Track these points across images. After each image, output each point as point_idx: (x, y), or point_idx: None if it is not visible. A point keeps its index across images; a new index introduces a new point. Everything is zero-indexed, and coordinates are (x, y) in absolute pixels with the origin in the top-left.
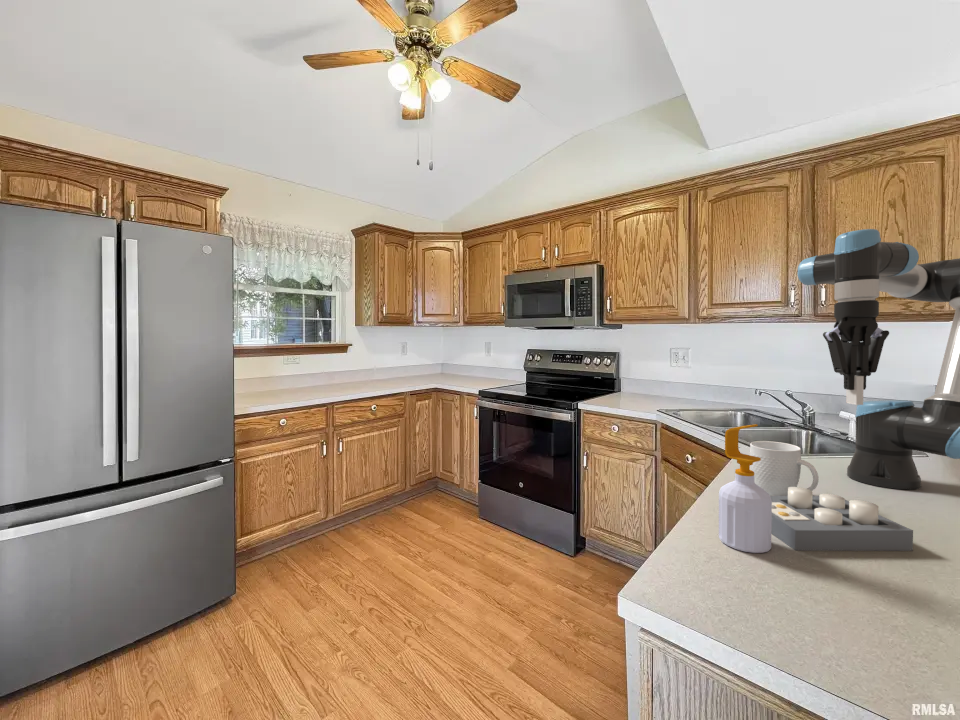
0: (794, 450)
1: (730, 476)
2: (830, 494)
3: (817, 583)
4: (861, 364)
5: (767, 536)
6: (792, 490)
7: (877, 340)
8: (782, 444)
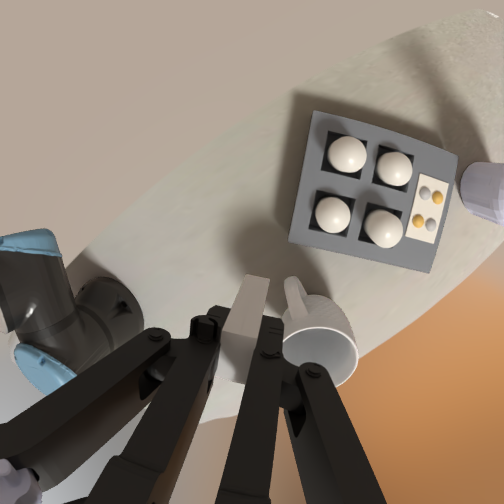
0: None
1: None
2: (323, 227)
3: (472, 102)
4: (204, 381)
5: (485, 162)
6: (399, 232)
7: (37, 452)
8: None
